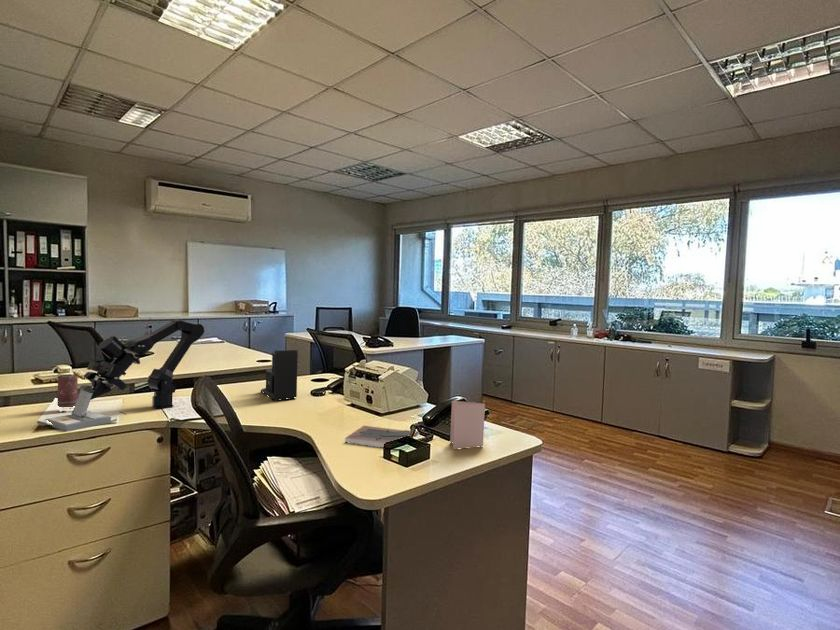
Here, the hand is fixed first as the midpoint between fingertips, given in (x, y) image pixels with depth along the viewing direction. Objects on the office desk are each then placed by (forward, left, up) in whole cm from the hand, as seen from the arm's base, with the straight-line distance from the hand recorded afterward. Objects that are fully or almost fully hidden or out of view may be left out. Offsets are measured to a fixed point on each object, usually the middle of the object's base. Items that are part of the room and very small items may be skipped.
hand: (87, 400), depth 165 cm
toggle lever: (+2, +1, -5) cm, 5 cm away
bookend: (-76, -1, -8) cm, 77 cm away
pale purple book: (-71, +82, -9) cm, 109 cm away
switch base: (+2, +1, -8) cm, 8 cm away
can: (+2, -22, -8) cm, 24 cm away
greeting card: (-88, +106, -8) cm, 137 cm away
